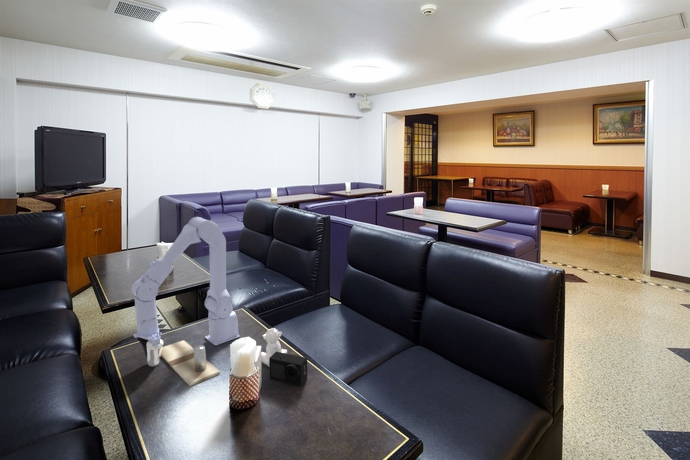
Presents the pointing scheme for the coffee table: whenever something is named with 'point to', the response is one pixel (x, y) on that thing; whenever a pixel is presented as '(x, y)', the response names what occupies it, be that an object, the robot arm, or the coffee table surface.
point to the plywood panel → (186, 363)
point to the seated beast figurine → (271, 345)
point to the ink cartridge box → (258, 363)
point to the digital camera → (288, 368)
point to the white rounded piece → (154, 352)
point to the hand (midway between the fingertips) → (150, 357)
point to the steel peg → (200, 358)
